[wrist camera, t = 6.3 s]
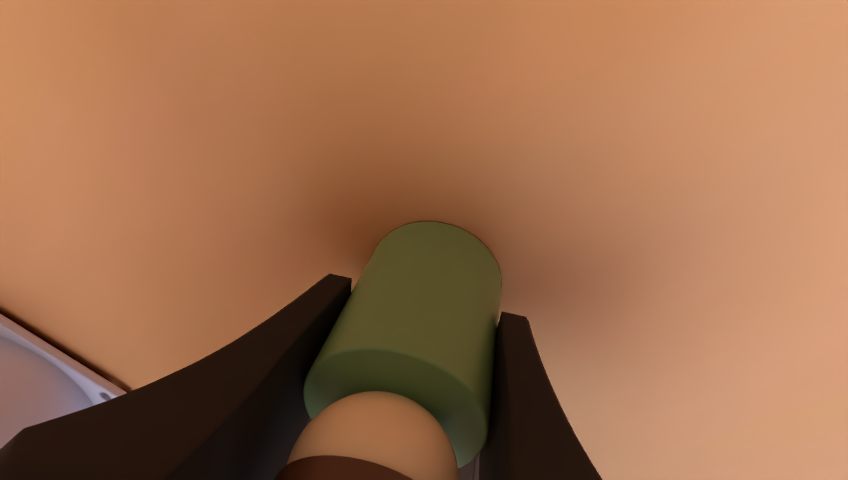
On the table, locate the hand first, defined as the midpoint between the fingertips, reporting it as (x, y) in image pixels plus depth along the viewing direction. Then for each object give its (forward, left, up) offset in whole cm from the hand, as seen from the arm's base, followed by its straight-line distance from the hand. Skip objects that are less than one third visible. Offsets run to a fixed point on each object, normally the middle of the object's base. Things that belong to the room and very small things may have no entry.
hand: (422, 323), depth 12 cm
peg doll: (0, 0, -2) cm, 2 cm away
